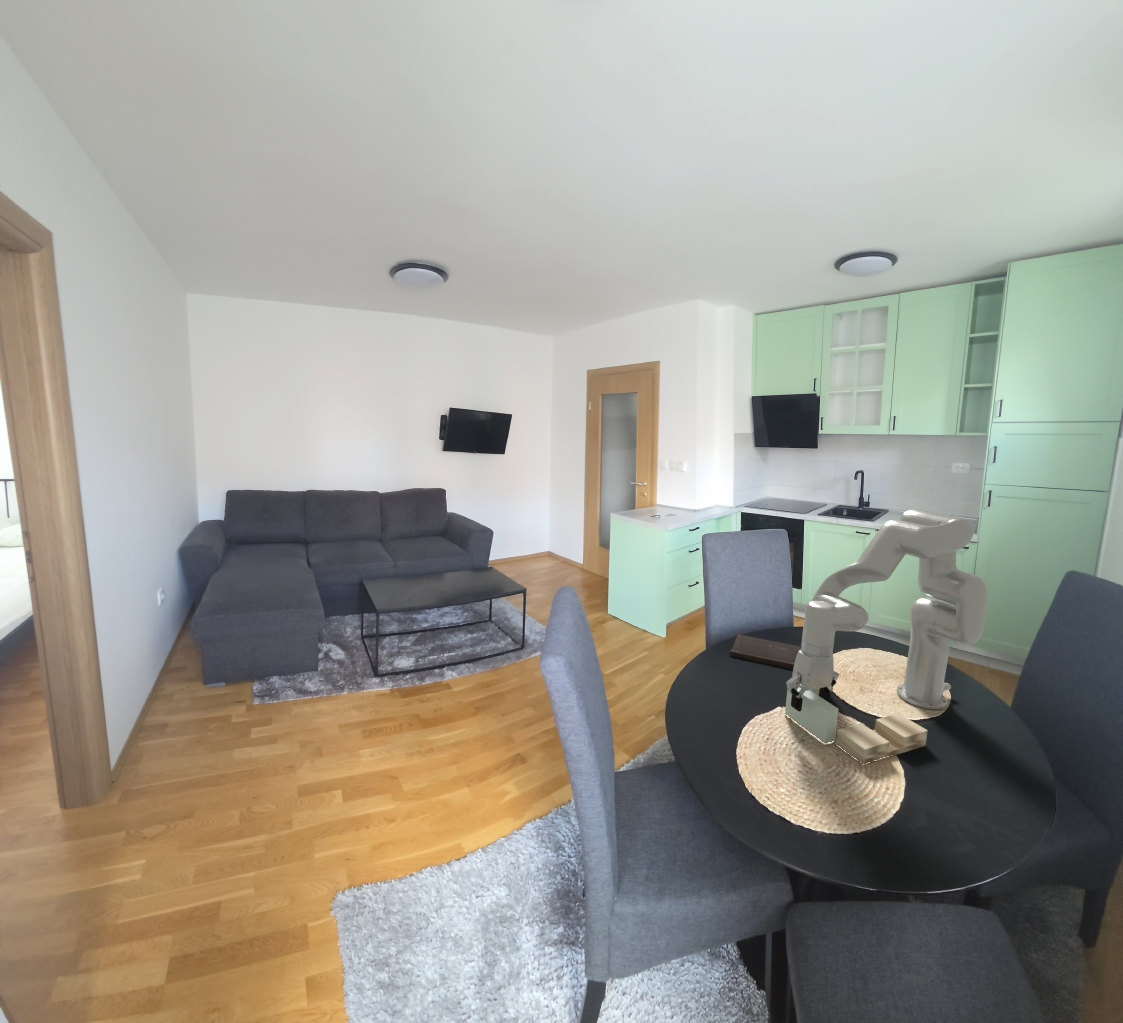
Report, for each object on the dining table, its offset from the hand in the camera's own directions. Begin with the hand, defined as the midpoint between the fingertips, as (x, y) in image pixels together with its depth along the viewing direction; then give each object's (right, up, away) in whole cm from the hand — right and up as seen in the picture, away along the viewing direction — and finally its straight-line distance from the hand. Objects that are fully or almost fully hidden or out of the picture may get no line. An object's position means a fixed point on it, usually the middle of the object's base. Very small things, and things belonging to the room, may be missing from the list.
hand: (809, 705), depth 137 cm
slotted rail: (+16, -8, -6) cm, 19 cm away
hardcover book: (+6, +1, +44) cm, 45 cm away
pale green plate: (0, -7, +2) cm, 7 cm away
